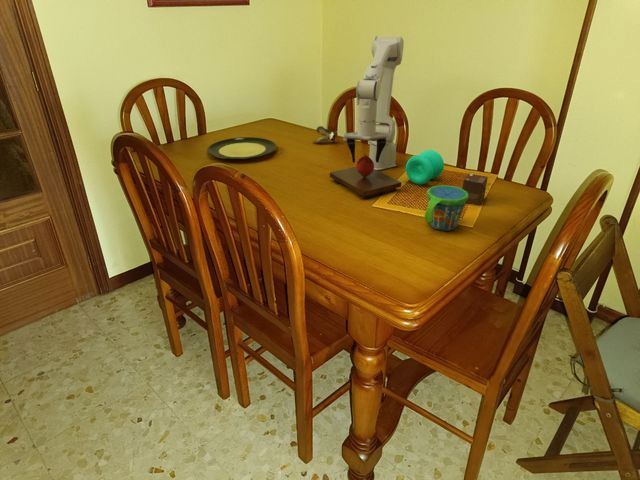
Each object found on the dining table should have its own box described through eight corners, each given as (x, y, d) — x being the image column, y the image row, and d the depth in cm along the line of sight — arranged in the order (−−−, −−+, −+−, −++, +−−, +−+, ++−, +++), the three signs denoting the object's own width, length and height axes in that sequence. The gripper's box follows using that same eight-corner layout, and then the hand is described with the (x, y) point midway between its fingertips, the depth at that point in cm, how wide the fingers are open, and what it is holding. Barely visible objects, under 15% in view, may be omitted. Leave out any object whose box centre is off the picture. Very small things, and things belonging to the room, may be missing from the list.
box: (479, 205, 137) (483, 183, 133) (459, 201, 139) (462, 179, 136) (484, 198, 141) (488, 176, 137) (465, 194, 144) (468, 173, 140)
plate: (290, 149, 186) (290, 143, 185) (246, 169, 166) (246, 162, 165) (239, 138, 200) (239, 133, 198) (192, 156, 179) (191, 150, 178)
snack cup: (447, 212, 133) (452, 179, 128) (476, 225, 125) (482, 191, 120) (409, 226, 125) (412, 192, 120) (438, 241, 118) (443, 206, 113)
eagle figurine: (336, 136, 197) (316, 132, 197) (338, 125, 190) (317, 121, 190) (333, 150, 193) (312, 145, 193) (335, 139, 187) (313, 135, 187)
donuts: (402, 181, 154) (405, 153, 149) (418, 173, 161) (421, 146, 156) (428, 189, 148) (431, 160, 143) (443, 180, 155) (447, 152, 150)
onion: (374, 174, 152) (375, 151, 148) (372, 180, 147) (373, 157, 143) (356, 173, 153) (357, 150, 149) (355, 179, 148) (355, 156, 144)
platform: (365, 172, 162) (365, 164, 161) (400, 190, 147) (401, 182, 146) (329, 180, 156) (329, 172, 154) (363, 200, 141) (363, 191, 139)
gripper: (344, 123, 137) (343, 165, 144) (392, 123, 137) (389, 165, 144) (343, 117, 143) (342, 158, 150) (389, 117, 143) (386, 158, 150)
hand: (365, 161), depth 147 cm, fingers open, 7 cm apart
